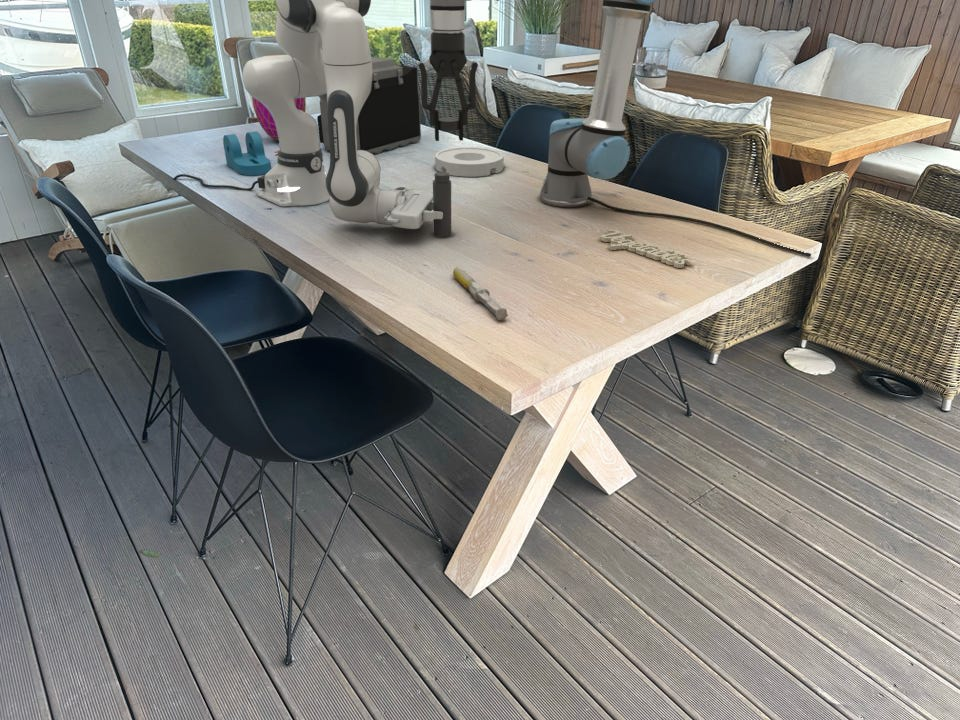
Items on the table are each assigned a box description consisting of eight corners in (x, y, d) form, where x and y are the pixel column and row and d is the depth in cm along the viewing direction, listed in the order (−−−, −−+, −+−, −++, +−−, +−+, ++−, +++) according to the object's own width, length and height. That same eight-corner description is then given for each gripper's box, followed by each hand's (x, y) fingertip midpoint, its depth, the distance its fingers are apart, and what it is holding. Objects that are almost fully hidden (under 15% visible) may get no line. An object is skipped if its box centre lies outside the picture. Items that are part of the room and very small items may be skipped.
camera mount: (227, 164, 233) (221, 132, 227) (257, 160, 238) (252, 129, 233) (244, 176, 220) (239, 143, 215) (276, 172, 225) (271, 139, 220)
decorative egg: (293, 132, 276) (283, 50, 261) (319, 140, 264) (310, 56, 249) (249, 139, 265) (236, 54, 250) (273, 148, 253) (261, 60, 238)
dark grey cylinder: (447, 230, 180) (446, 170, 172) (454, 236, 176) (454, 175, 168) (431, 232, 178) (429, 172, 170) (437, 238, 175) (436, 177, 167)
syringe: (449, 274, 155) (449, 263, 153) (465, 272, 156) (464, 260, 154) (490, 323, 135) (491, 310, 133) (508, 319, 136) (508, 307, 134)
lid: (451, 132, 159) (451, 122, 158) (433, 129, 161) (433, 119, 160) (463, 128, 163) (463, 119, 162) (446, 125, 165) (446, 116, 164)
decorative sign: (586, 237, 174) (611, 228, 179) (586, 240, 174) (611, 231, 180) (674, 268, 157) (698, 257, 162) (673, 272, 157) (698, 261, 163)
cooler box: (383, 133, 276) (378, 52, 261) (425, 141, 265) (422, 56, 250) (314, 150, 251) (304, 61, 235) (358, 160, 240) (350, 67, 224)
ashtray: (438, 158, 243) (438, 146, 241) (503, 159, 243) (503, 147, 241) (432, 176, 223) (431, 163, 221) (503, 177, 223) (503, 165, 221)
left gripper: (380, 208, 166) (436, 212, 164) (402, 184, 183) (453, 187, 181) (382, 233, 169) (436, 237, 167) (403, 207, 186) (453, 210, 184)
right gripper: (485, 29, 156) (484, 135, 167) (405, 29, 153) (410, 136, 165) (490, 33, 149) (488, 142, 161) (407, 33, 147) (411, 144, 159)
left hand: (445, 211), depth 174 cm, fingers closed on dark grey cylinder, 4 cm apart
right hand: (448, 139), depth 163 cm, fingers closed on lid, 5 cm apart
